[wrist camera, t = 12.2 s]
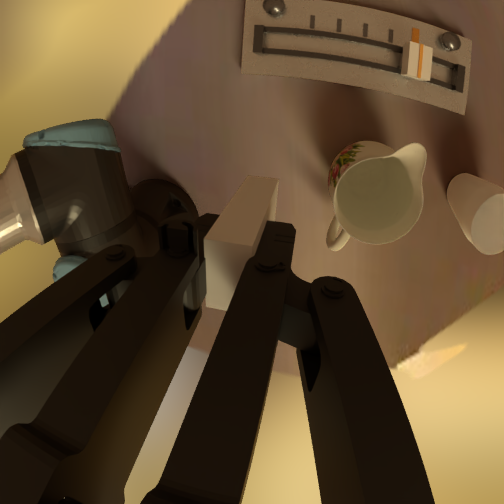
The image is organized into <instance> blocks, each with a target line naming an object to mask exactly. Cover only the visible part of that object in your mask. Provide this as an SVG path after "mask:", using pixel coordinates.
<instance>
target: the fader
mask: <svg viewBox="0 0 504 504" xmlns="http://www.w3.org/2000/svg"><path fill="white" fill-rule="evenodd" d="M432 53H433V48H431V47H428V46H425V45H424V44H418V43H415V42H412V41H409V42H407V43H404V44H403V54H402V55H400V65H399V67H402V68H401V75H404V76H407V77H411V78H415V79H418V80H421V81H430V76H431V66H432Z"/></svg>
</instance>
